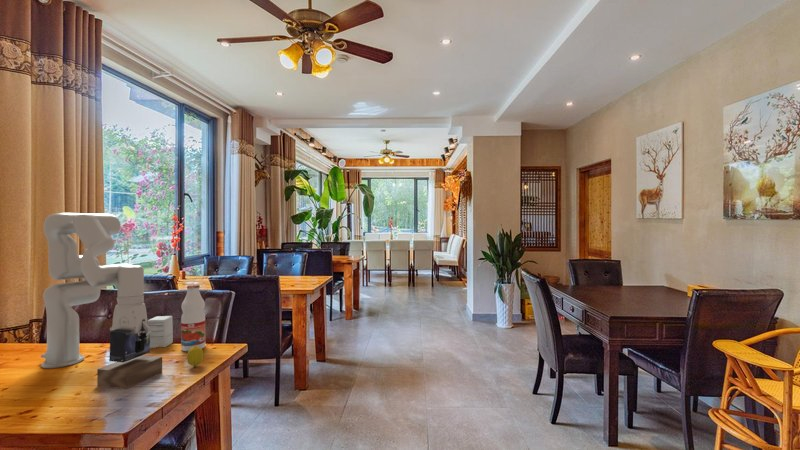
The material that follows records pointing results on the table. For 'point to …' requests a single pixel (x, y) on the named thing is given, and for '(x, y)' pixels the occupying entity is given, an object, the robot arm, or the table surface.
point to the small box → (125, 345)
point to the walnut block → (129, 372)
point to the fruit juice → (193, 319)
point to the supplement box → (161, 331)
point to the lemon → (195, 356)
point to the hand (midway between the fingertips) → (130, 350)
